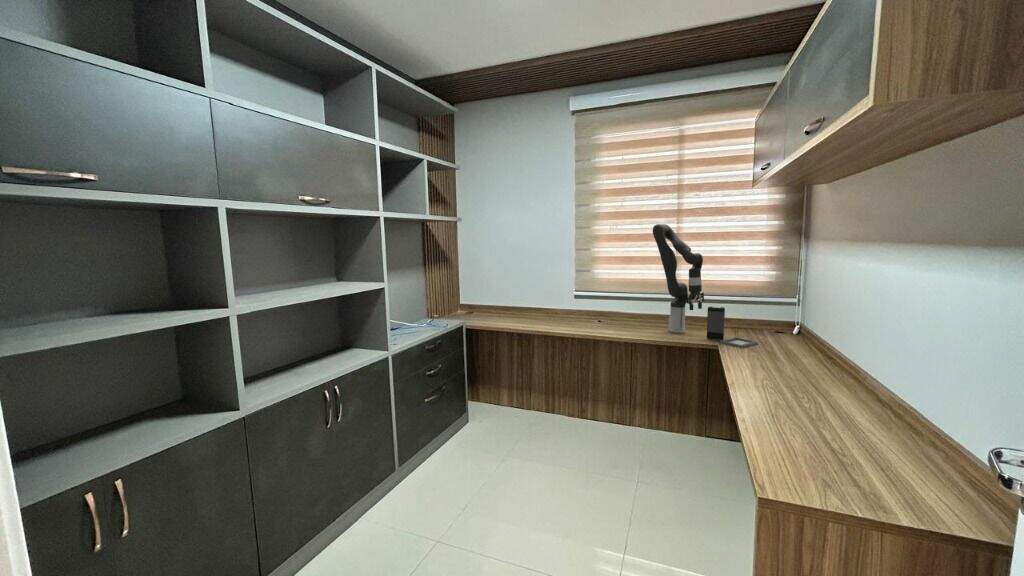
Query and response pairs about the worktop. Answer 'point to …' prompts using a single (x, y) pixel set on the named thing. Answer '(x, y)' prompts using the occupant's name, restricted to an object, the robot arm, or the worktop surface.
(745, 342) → the charging dock
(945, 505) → the worktop surface
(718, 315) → the electronic device
